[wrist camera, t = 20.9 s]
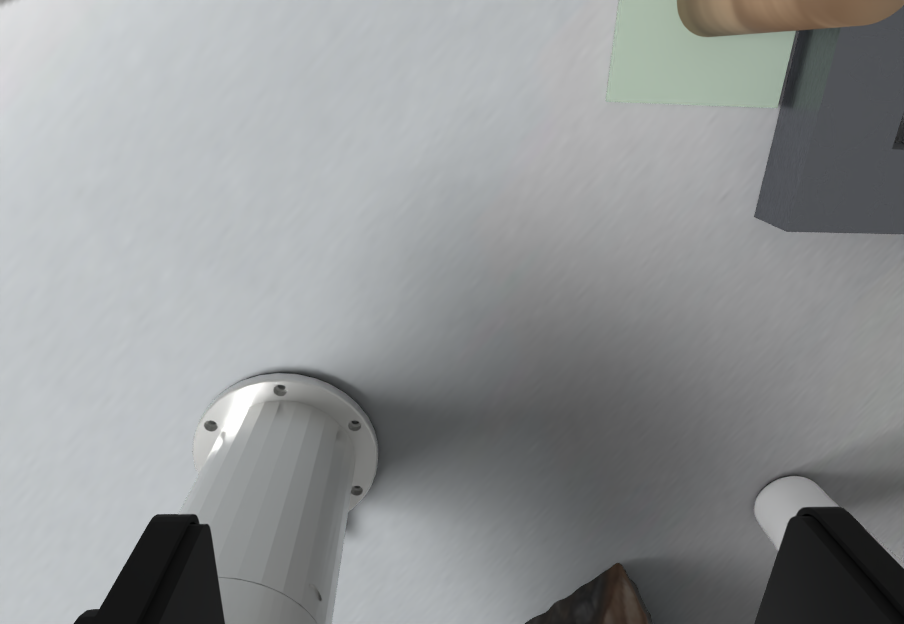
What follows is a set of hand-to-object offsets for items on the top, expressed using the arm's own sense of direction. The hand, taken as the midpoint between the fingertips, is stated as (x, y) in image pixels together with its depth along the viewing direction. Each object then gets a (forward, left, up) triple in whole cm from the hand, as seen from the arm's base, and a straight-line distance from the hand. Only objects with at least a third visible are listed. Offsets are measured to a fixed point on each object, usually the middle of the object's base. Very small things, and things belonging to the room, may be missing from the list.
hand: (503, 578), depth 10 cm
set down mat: (+12, -14, -28) cm, 34 cm away
